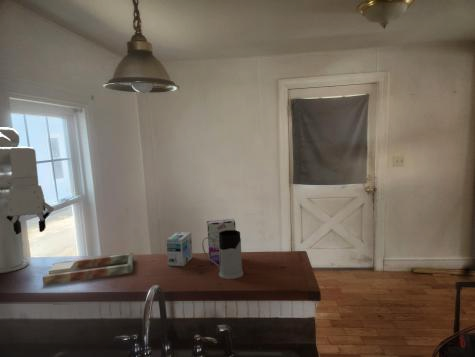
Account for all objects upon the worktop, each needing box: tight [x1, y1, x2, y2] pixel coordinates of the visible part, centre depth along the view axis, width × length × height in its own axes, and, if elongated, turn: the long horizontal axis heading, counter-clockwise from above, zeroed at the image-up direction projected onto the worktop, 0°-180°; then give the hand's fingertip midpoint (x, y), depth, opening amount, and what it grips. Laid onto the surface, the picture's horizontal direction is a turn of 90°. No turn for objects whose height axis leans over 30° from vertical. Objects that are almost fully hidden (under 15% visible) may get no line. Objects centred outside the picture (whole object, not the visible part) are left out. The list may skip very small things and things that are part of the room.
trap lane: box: [42, 252, 134, 286], centre depth 115 cm, size 29×14×3 cm, turn 107°
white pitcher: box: [201, 230, 244, 280], centre depth 108 cm, size 9×14×15 cm, turn 91°
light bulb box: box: [166, 231, 193, 267], centre depth 122 cm, size 11×7×11 cm, turn 168°
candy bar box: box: [206, 218, 237, 265], centre depth 121 cm, size 11×5×16 cm, turn 102°
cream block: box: [48, 261, 77, 275], centre depth 112 cm, size 7×7×4 cm
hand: (30, 231), depth 108 cm, fingers open, 6 cm apart
